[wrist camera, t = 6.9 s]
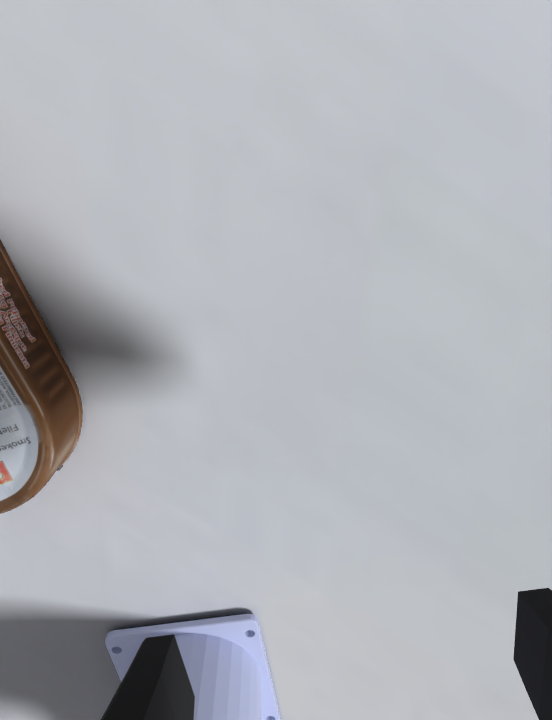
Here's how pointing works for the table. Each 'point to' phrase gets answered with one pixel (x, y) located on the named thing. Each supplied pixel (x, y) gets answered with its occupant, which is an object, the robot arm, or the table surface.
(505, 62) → the table surface
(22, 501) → the tin
